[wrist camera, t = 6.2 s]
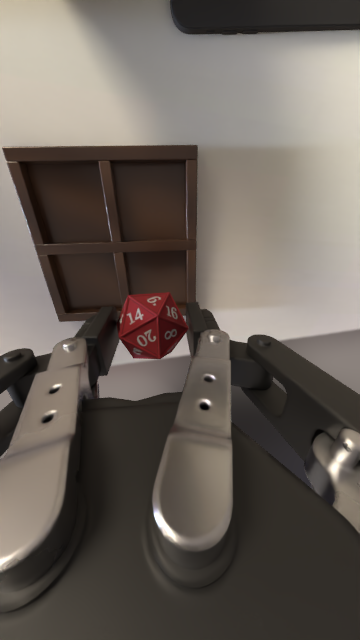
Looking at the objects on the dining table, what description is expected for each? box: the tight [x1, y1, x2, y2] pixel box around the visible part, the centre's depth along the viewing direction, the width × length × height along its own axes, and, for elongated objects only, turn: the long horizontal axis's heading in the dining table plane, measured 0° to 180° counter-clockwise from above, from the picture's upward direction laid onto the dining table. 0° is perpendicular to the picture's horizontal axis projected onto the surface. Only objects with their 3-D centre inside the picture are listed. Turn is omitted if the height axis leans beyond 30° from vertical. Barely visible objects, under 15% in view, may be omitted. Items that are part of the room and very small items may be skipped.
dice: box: [117, 292, 189, 359], centre depth 12 cm, size 4×4×4 cm
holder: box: [2, 145, 198, 322], centre depth 19 cm, size 15×15×1 cm
